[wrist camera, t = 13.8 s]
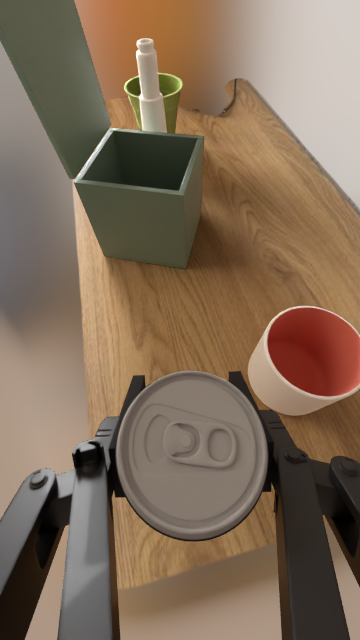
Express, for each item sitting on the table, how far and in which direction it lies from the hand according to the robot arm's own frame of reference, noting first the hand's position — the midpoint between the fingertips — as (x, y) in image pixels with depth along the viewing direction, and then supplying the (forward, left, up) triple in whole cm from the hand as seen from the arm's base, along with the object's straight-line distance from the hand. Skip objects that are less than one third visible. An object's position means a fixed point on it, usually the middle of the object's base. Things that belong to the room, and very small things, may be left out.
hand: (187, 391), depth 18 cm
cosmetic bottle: (-15, +42, -17) cm, 48 cm away
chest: (-13, +30, -17) cm, 37 cm away
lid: (-20, +30, +5) cm, 37 cm away
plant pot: (-20, +59, -17) cm, 65 cm away
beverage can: (+1, -4, -4) cm, 5 cm away
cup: (+11, +8, -17) cm, 22 cm away
